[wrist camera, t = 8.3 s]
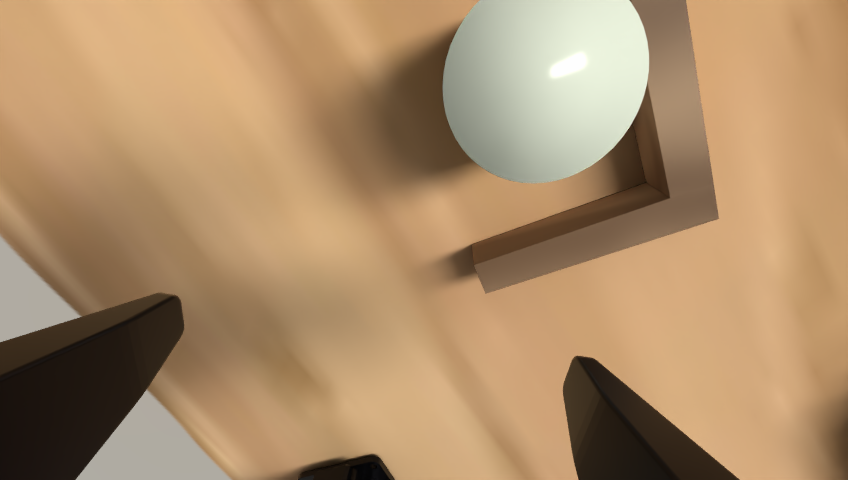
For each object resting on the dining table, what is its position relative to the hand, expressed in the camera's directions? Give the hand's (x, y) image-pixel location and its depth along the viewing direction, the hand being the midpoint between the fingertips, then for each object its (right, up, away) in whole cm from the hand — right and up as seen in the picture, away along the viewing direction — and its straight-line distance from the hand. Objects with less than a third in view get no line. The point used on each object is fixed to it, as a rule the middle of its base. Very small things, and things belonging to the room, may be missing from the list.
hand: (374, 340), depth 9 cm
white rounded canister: (+5, +9, +7) cm, 13 cm away
